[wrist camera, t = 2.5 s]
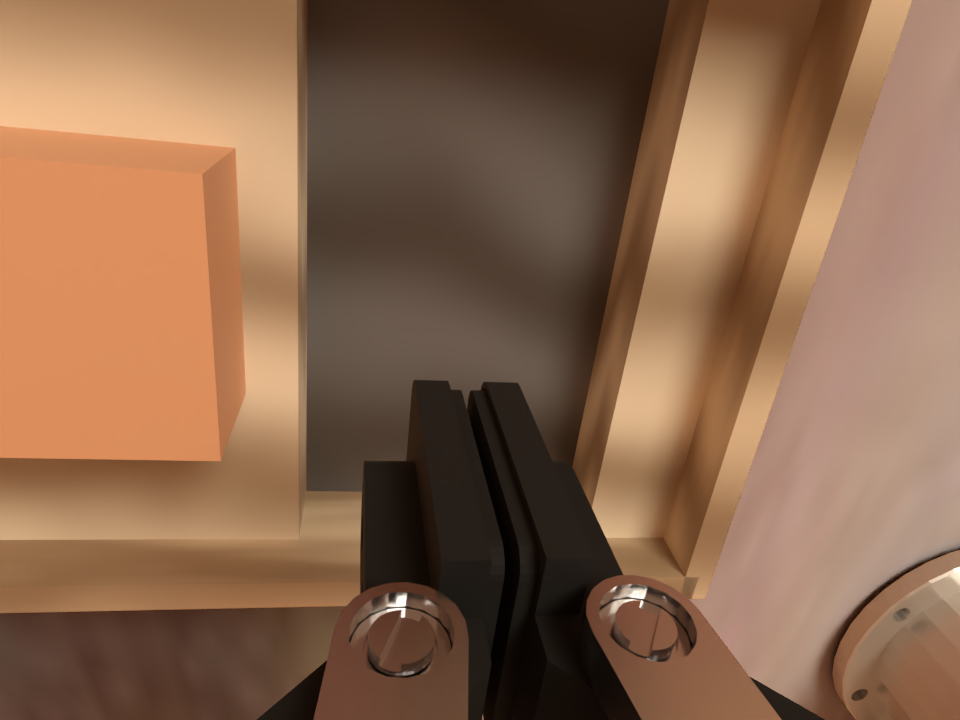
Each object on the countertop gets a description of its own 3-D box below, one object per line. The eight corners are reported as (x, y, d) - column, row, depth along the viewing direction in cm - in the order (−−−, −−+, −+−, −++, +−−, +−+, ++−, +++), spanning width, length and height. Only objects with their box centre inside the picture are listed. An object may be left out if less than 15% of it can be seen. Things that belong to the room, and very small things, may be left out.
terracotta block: (245, 393, 20) (220, 461, 16) (-19, 384, 18) (-100, 456, 15) (235, 148, 17) (202, 173, 13) (-81, 117, 15) (-199, 139, 12)
